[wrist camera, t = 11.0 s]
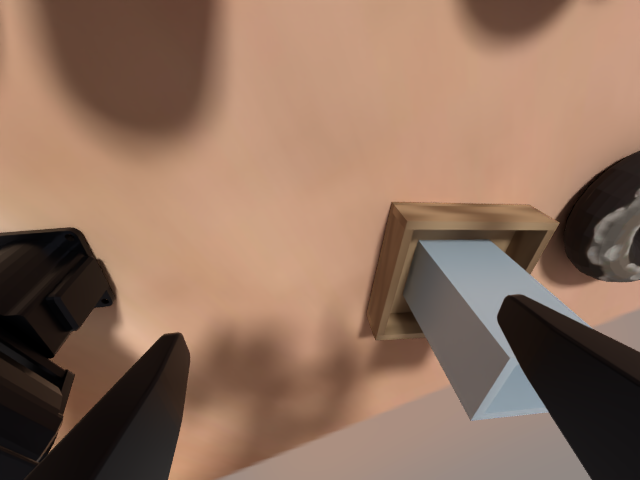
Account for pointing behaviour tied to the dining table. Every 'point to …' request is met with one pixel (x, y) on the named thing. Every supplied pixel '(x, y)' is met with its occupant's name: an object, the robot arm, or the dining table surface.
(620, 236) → the donut
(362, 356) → the dining table surface
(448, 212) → the shallow brown tray
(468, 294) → the tall grey bin
